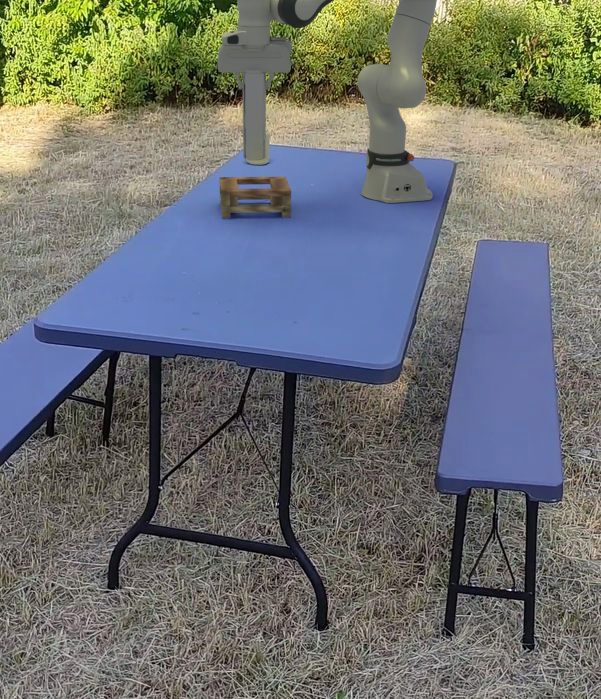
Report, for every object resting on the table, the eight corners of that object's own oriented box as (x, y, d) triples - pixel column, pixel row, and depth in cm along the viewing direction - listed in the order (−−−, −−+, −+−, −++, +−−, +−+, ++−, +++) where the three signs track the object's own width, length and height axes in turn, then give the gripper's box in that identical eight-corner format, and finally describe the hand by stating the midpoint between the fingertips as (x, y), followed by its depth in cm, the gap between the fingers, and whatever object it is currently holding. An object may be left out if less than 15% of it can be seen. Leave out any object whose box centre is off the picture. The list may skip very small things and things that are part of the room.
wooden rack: (285, 202, 262) (285, 176, 258) (290, 217, 248) (291, 190, 245) (220, 203, 259) (219, 177, 256) (221, 218, 246) (221, 191, 243)
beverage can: (244, 165, 300) (244, 130, 295) (249, 159, 307) (249, 125, 302) (266, 166, 299) (266, 131, 294) (271, 160, 306) (271, 127, 301)
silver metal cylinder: (265, 160, 244) (265, 70, 233) (242, 160, 244) (241, 69, 233) (266, 154, 250) (266, 66, 239) (244, 154, 250) (243, 65, 239)
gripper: (290, 35, 236) (290, 86, 242) (216, 35, 234) (217, 87, 240) (293, 38, 230) (292, 91, 237) (217, 37, 228) (218, 91, 234)
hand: (254, 89), depth 238 cm, fingers closed on silver metal cylinder, 6 cm apart
